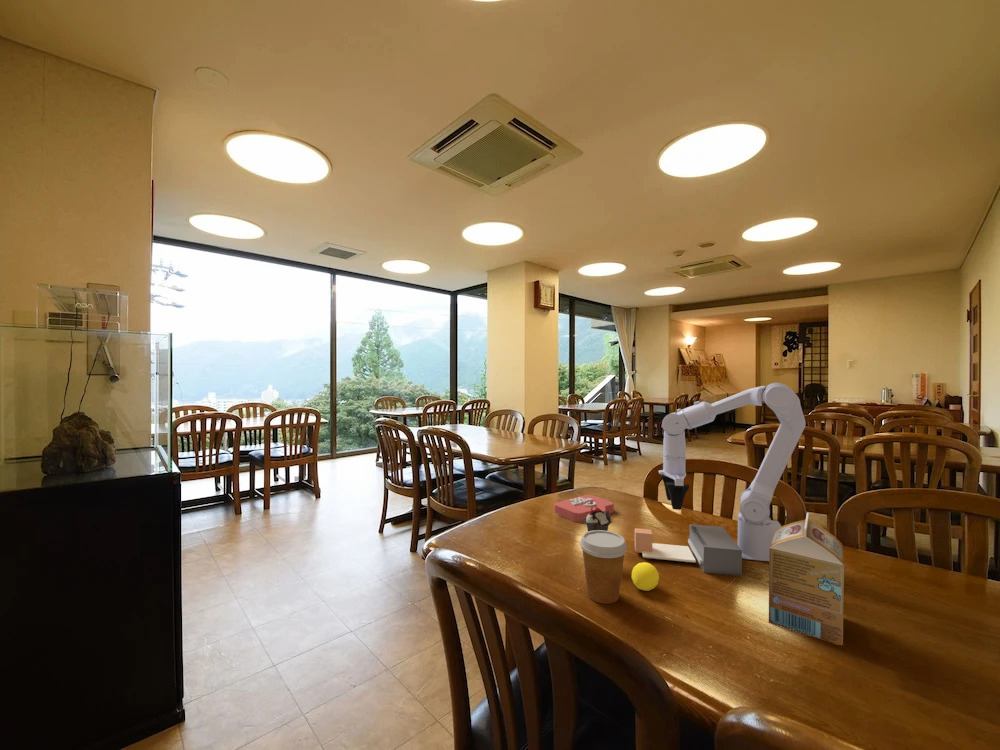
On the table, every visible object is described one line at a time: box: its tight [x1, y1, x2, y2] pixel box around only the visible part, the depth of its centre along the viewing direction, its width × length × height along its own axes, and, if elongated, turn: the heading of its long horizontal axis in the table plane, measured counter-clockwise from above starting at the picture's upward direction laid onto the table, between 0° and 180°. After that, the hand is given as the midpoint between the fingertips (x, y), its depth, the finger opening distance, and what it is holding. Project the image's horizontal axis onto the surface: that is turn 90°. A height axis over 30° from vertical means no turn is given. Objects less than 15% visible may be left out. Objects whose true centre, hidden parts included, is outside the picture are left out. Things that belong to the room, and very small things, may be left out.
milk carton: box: [768, 512, 845, 646], centre depth 76 cm, size 11×11×19 cm
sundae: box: [583, 502, 612, 532], centre depth 99 cm, size 7×7×15 cm
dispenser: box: [687, 523, 743, 577], centre depth 100 cm, size 9×14×6 cm, turn 167°
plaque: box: [553, 494, 615, 523], centre depth 133 cm, size 18×4×15 cm
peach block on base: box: [634, 527, 697, 563], centre depth 102 cm, size 14×8×5 cm, turn 77°
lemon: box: [631, 561, 660, 592], centre depth 87 cm, size 7×5×5 cm
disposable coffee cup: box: [579, 530, 628, 605], centre depth 84 cm, size 10×10×12 cm
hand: (673, 504), depth 113 cm, fingers open, 7 cm apart
